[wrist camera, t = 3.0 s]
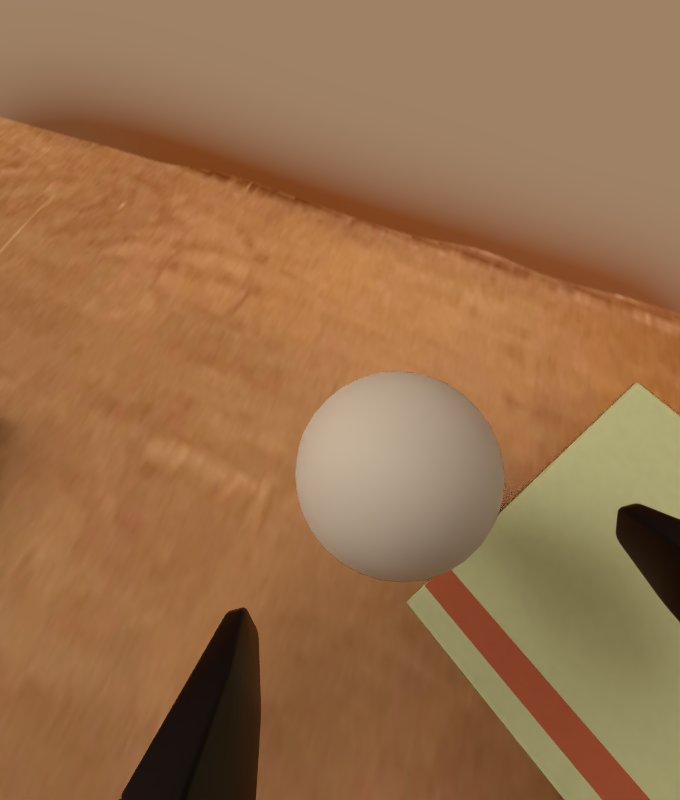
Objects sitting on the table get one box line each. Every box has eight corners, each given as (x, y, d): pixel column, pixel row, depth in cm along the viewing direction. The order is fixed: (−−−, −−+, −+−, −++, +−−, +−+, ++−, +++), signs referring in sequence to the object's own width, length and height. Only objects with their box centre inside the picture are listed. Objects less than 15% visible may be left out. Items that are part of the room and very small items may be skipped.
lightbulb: (428, 585, 18) (502, 650, 8) (307, 533, 19) (228, 528, 9) (465, 461, 20) (566, 377, 9) (352, 420, 21) (331, 306, 11)
